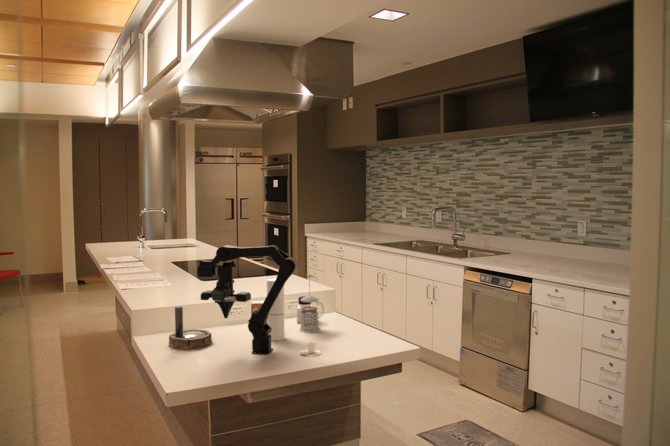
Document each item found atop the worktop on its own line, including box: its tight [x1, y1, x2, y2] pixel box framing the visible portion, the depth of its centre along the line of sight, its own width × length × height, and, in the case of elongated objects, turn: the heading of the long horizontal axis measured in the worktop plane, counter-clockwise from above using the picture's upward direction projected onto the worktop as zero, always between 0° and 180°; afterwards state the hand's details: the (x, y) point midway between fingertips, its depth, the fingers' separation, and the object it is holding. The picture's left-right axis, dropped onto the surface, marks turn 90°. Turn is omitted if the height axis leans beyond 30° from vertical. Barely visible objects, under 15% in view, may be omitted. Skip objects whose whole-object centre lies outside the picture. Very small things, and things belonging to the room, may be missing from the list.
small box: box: [250, 299, 265, 316], centre depth 239 cm, size 8×6×13 cm
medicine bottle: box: [296, 295, 314, 324], centre depth 255 cm, size 7×7×12 cm
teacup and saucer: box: [298, 341, 322, 357], centre depth 206 cm, size 9×8×4 cm
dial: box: [174, 306, 206, 339], centre depth 219 cm, size 13×13×14 cm
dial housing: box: [168, 328, 213, 350], centre depth 219 cm, size 17×17×4 cm
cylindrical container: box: [266, 277, 285, 342], centre depth 225 cm, size 7×7×25 cm
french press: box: [298, 274, 325, 334], centre depth 240 cm, size 10×12×25 cm
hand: (226, 318), depth 208 cm, fingers closed
